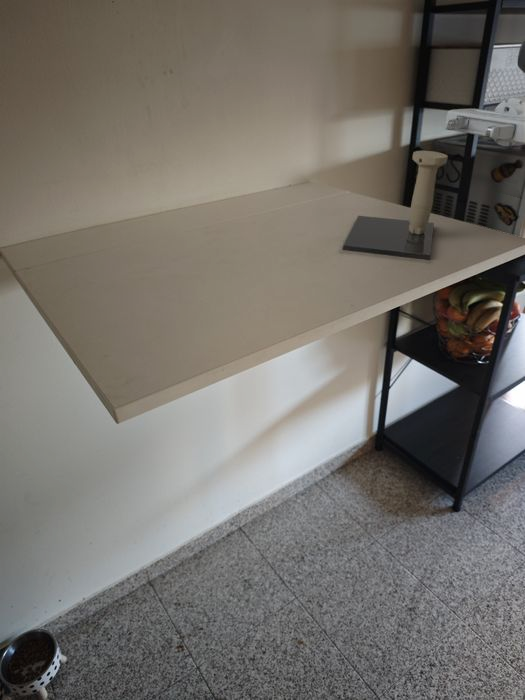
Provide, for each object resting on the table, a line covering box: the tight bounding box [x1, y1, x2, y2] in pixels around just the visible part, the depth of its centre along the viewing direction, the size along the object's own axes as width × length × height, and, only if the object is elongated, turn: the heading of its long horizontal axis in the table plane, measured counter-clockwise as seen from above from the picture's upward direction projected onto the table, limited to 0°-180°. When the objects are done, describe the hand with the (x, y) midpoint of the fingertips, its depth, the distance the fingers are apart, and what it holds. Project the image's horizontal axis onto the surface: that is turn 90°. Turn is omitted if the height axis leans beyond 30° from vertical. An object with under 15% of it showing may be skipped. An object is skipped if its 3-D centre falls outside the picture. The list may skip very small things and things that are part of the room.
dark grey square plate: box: [342, 215, 435, 261], centre depth 100 cm, size 16×18×1 cm
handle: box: [409, 150, 449, 235], centre depth 96 cm, size 5×6×15 cm
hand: (468, 128), depth 94 cm, fingers open, 8 cm apart
